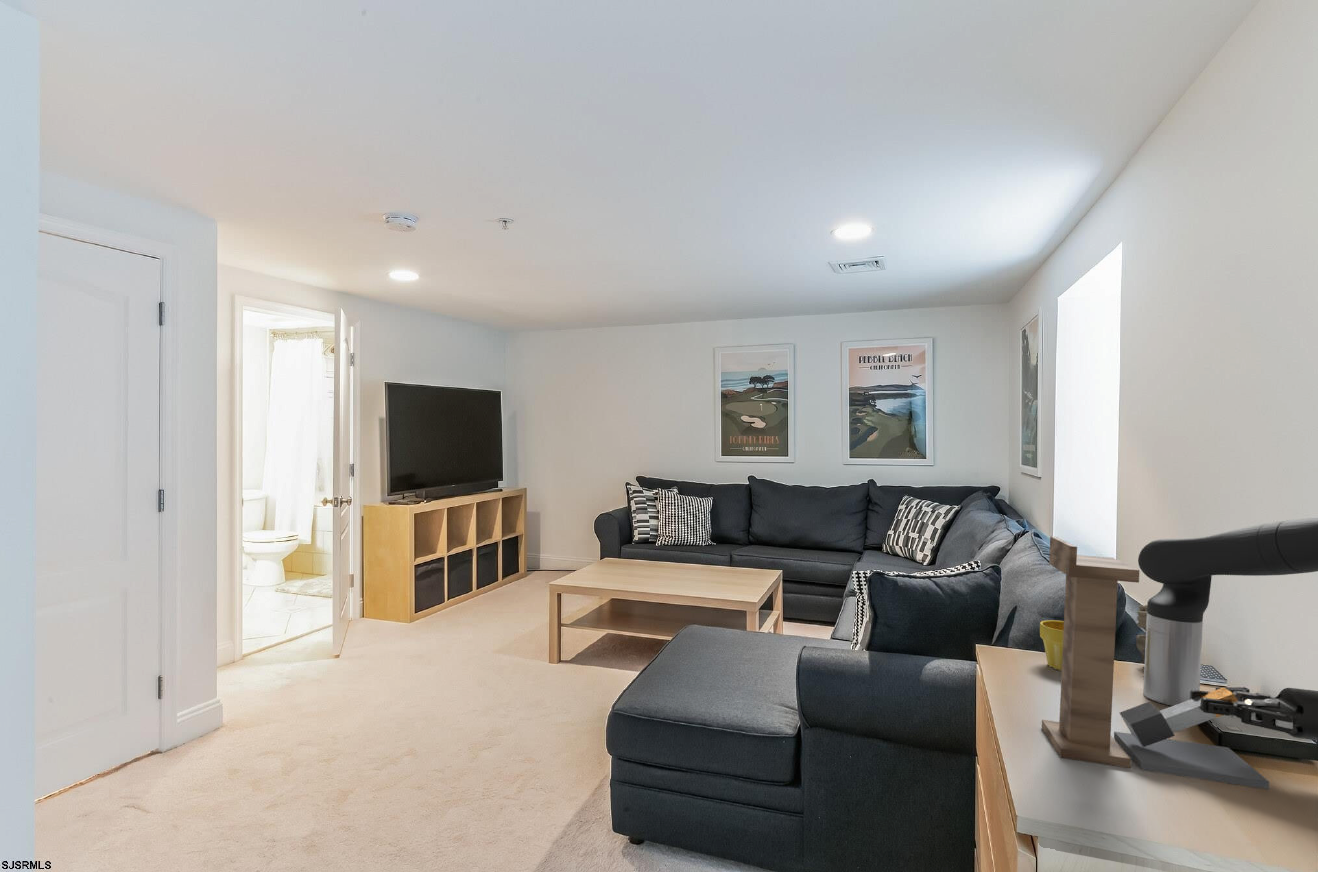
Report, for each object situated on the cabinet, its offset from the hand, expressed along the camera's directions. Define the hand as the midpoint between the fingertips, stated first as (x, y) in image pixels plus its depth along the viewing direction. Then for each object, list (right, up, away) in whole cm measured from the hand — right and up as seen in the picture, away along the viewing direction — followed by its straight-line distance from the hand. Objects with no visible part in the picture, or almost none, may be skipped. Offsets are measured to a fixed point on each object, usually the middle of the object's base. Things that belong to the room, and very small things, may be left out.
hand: (1196, 700), depth 113 cm
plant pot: (+5, -11, +46) cm, 48 cm away
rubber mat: (-2, -10, 0) cm, 10 cm away
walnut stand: (-16, -10, +5) cm, 19 cm away
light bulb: (+27, -11, +48) cm, 56 cm away
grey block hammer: (-1, -4, 0) cm, 4 cm away
